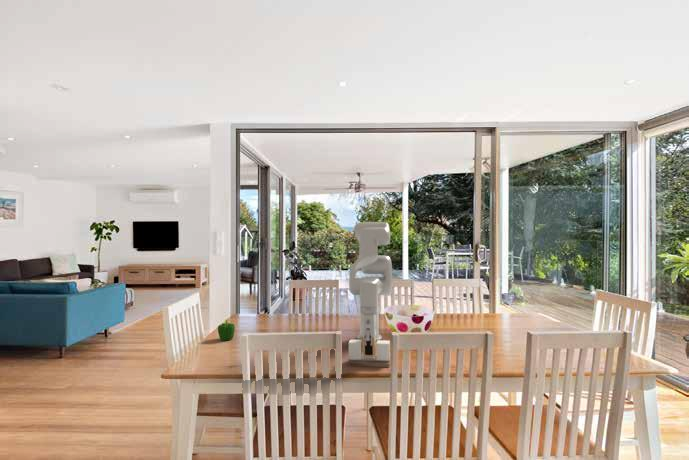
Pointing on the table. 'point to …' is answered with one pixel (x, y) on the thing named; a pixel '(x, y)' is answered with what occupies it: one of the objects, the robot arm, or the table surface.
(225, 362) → the table surface
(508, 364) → the table surface
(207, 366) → the table surface
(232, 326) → the bell pepper
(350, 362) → the rail board
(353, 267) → the robot arm
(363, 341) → the block
